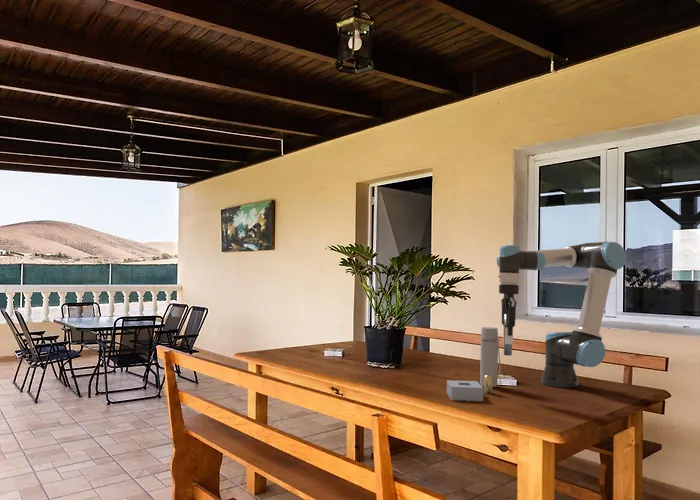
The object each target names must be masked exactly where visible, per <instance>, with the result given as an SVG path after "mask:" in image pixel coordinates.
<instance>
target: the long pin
mask: <svg viewBox="0 0 700 500" xmlns="http://www.w3.org/2000/svg"><path fill="white" fill-rule="evenodd" d="M505 326H507V320H506V314H504V343H503V355H504V356H512V353H513V344H505V341H506V327H505Z"/></svg>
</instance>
